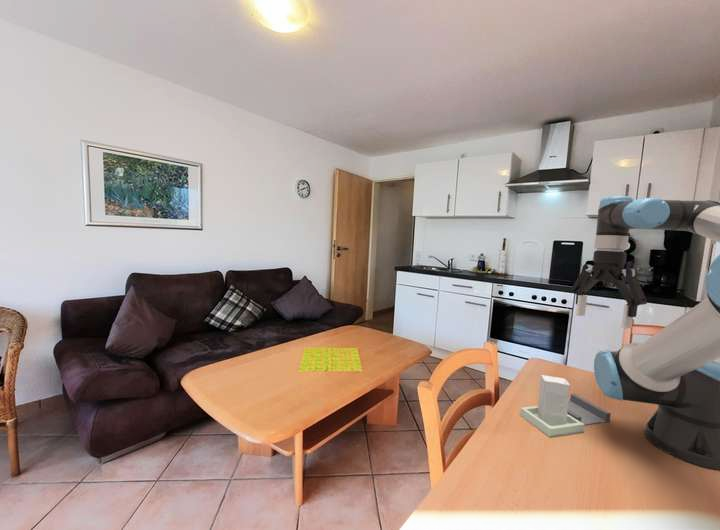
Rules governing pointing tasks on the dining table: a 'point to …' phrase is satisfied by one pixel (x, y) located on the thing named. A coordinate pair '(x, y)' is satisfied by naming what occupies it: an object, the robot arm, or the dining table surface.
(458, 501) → the dining table surface
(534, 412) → the tray
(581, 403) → the tray
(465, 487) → the dining table surface
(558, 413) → the skincare box
